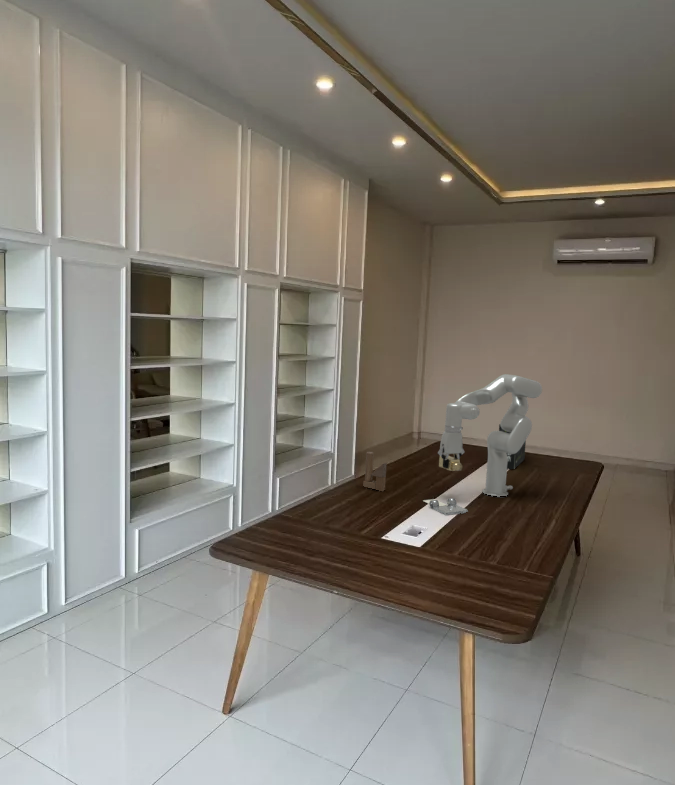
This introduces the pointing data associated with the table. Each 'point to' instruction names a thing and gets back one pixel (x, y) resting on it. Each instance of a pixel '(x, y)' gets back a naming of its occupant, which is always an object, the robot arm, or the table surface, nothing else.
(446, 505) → the pad
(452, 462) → the brass knob plate
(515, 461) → the router box
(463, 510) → the hinge base
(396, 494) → the table surface
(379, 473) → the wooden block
